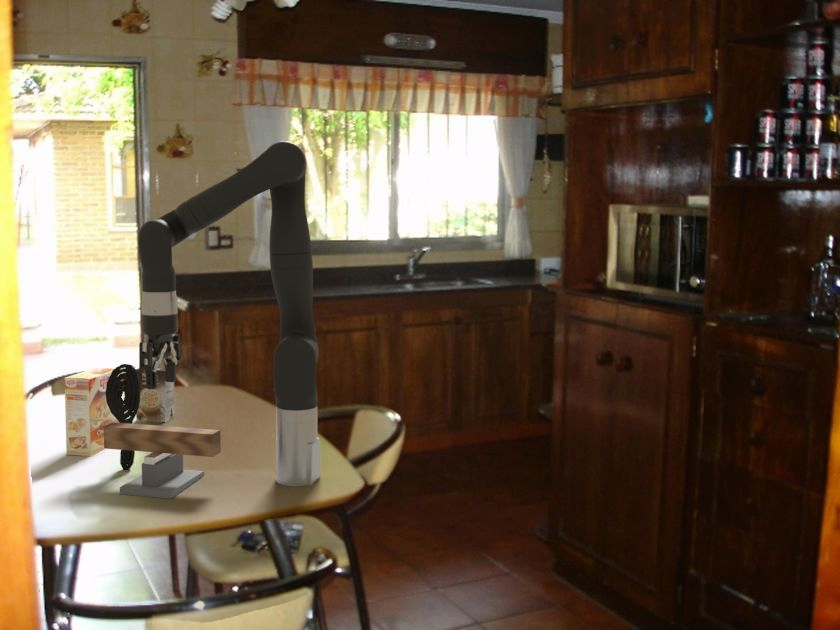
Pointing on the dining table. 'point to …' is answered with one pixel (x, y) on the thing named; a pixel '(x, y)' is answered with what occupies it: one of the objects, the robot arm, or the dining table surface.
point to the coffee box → (156, 399)
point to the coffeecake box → (87, 411)
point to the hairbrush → (124, 402)
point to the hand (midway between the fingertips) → (161, 385)
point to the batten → (162, 439)
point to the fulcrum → (161, 477)
